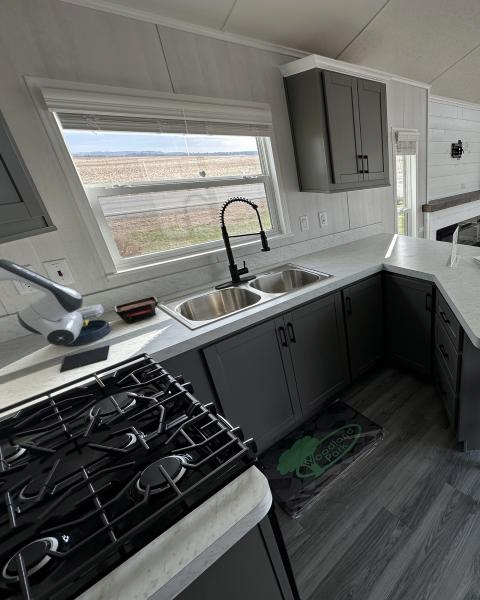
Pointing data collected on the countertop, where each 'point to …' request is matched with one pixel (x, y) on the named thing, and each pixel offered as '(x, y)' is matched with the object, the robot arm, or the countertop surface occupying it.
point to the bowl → (92, 332)
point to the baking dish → (137, 309)
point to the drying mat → (84, 358)
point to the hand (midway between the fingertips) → (74, 309)
